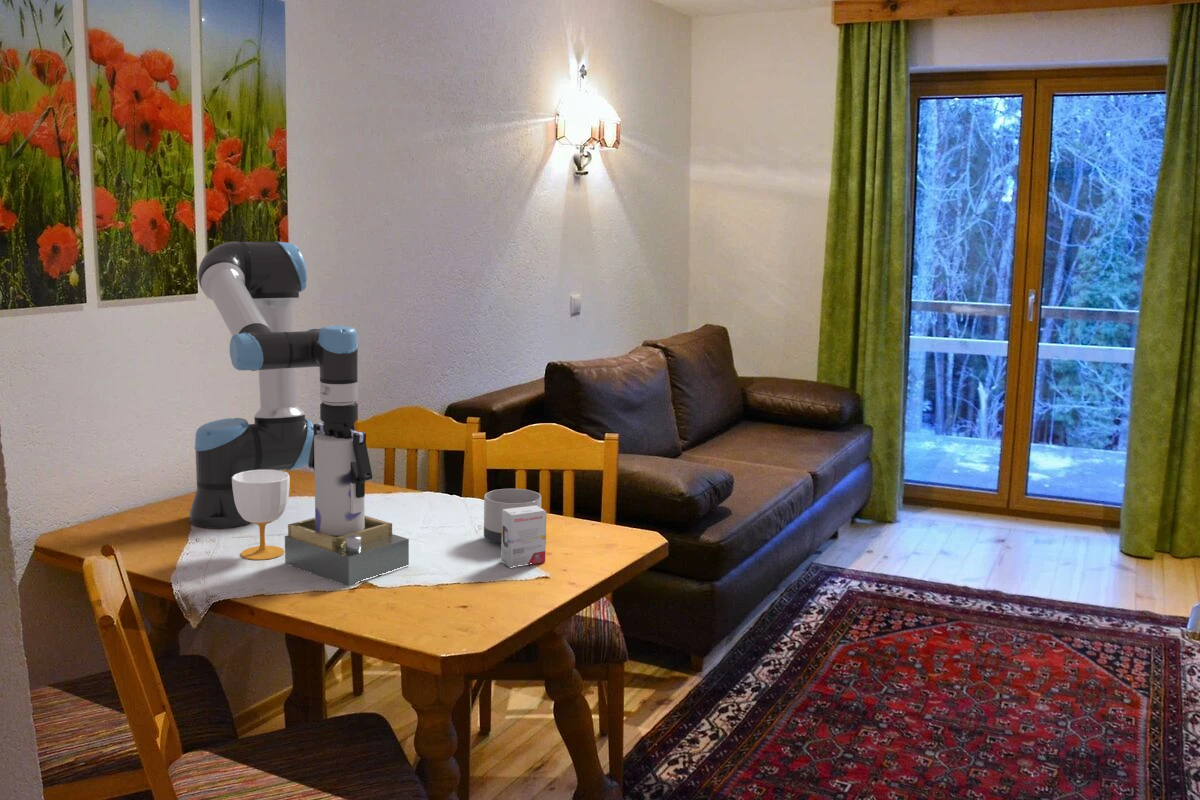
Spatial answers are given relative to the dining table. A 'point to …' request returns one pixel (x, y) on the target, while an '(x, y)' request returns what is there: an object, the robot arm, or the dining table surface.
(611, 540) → the dining table surface
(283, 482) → the cup
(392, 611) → the dining table surface
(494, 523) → the planter
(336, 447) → the container
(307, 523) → the grey boxy piece
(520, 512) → the ink box
